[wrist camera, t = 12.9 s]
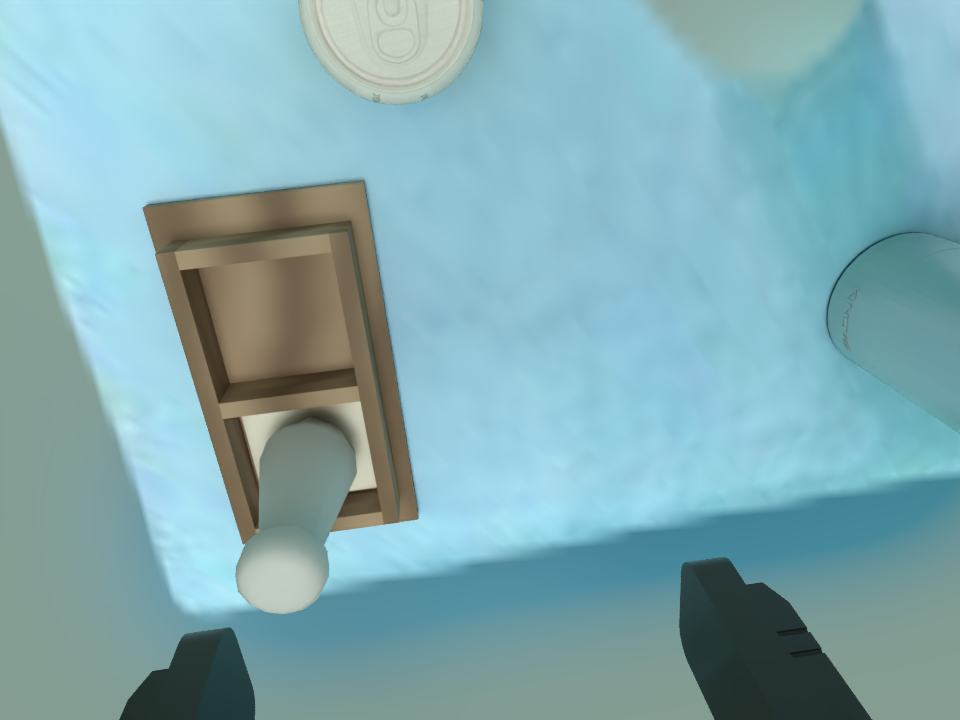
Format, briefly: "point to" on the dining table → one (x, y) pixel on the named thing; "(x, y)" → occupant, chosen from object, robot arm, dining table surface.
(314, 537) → the salt shaker
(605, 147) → the dining table surface
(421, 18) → the white yellow canister
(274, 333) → the slot caddy
